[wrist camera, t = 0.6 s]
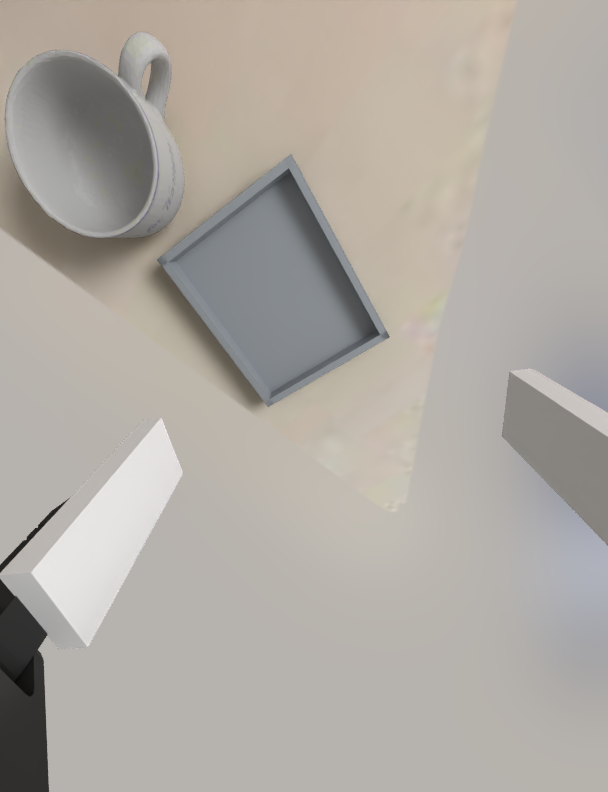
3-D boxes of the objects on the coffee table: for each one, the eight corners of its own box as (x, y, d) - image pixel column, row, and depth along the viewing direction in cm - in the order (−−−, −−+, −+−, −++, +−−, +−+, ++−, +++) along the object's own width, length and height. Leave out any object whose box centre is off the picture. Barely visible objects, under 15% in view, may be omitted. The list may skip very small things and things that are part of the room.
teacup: (142, 263, 33) (93, 268, 26) (50, 159, 30) (-35, 131, 22) (245, 162, 29) (223, 135, 22) (155, 30, 26) (93, -55, 19)
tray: (168, 258, 33) (157, 259, 30) (293, 161, 29) (291, 153, 27) (270, 397, 39) (268, 406, 36) (384, 331, 35) (389, 336, 33)
